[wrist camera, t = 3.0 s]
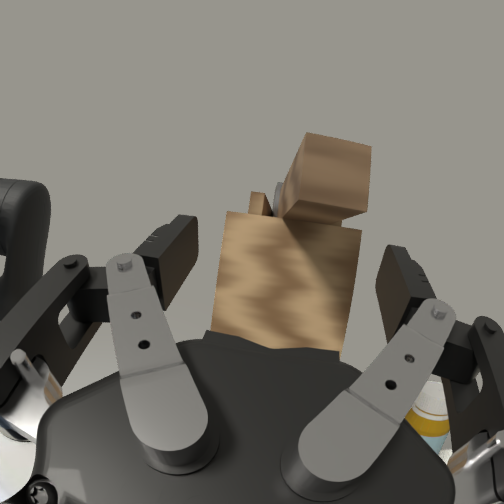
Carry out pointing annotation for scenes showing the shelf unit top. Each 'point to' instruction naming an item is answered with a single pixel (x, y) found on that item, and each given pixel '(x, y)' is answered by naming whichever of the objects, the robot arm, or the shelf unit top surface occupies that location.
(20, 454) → the shelf unit top surface
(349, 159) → the lever bar
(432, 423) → the bottle
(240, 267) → the post
